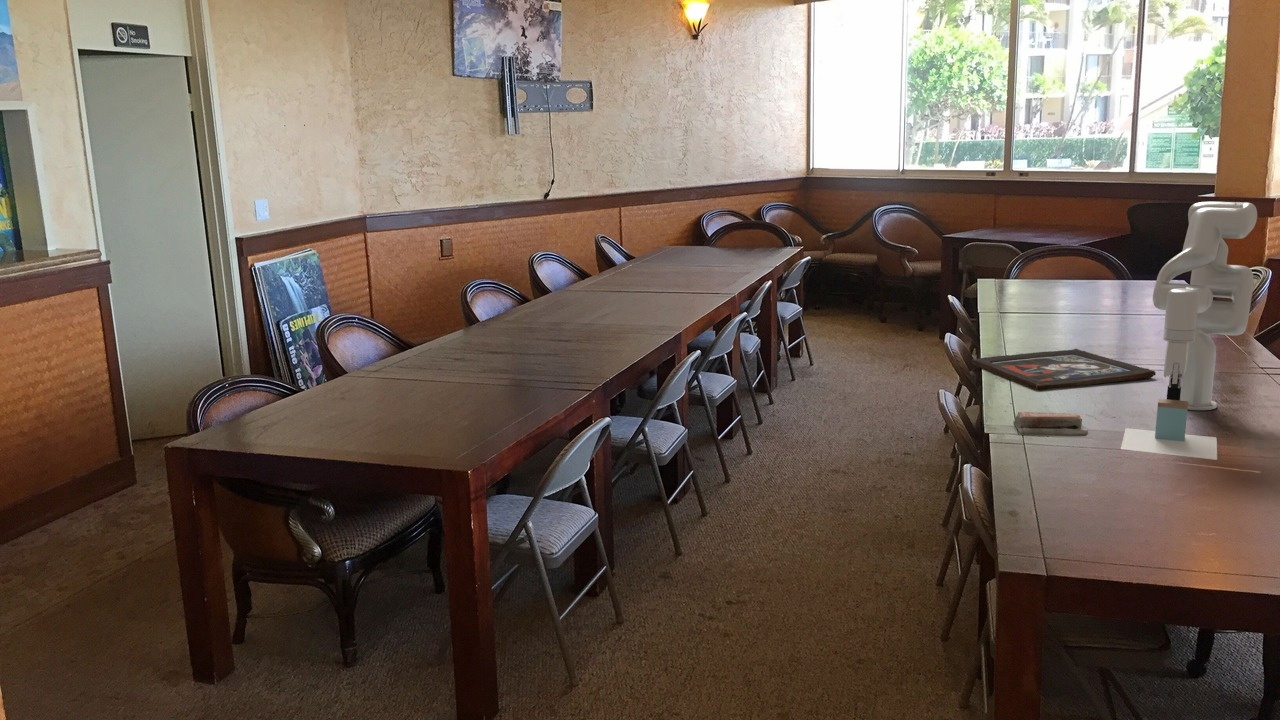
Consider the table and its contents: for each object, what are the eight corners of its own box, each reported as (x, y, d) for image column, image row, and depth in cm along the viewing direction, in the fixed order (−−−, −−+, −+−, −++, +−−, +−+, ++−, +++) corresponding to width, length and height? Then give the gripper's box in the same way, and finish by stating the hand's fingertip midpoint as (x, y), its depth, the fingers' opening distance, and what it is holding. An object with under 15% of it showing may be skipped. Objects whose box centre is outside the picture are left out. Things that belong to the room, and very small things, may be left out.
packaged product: (1020, 418, 283) (1013, 408, 292) (1019, 434, 284) (1012, 424, 293) (1089, 419, 280) (1080, 409, 289) (1088, 436, 281) (1079, 425, 290)
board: (1125, 429, 284) (1125, 428, 284) (1216, 438, 274) (1216, 437, 274) (1120, 450, 267) (1120, 449, 267) (1217, 461, 257) (1217, 459, 257)
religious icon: (1159, 379, 335) (1160, 370, 335) (1038, 393, 325) (1038, 384, 324) (1079, 354, 374) (1079, 346, 373) (968, 366, 363) (969, 358, 362)
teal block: (1155, 434, 278) (1158, 398, 276) (1184, 437, 275) (1188, 401, 272) (1154, 438, 275) (1158, 402, 272) (1184, 441, 271) (1187, 405, 269)
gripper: (1164, 328, 283) (1158, 393, 287) (1162, 339, 270) (1156, 406, 274) (1195, 330, 280) (1189, 395, 284) (1194, 341, 267) (1188, 409, 271)
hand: (1173, 400), depth 279 cm, fingers closed
